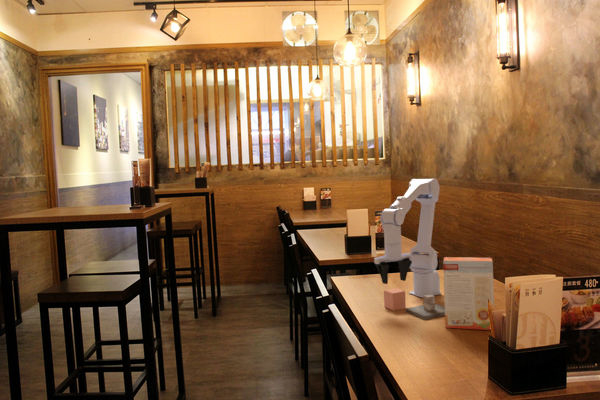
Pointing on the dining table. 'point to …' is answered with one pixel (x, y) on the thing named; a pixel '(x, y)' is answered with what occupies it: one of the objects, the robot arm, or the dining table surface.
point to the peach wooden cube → (394, 299)
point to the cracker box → (468, 292)
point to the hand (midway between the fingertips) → (394, 281)
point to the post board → (425, 312)
